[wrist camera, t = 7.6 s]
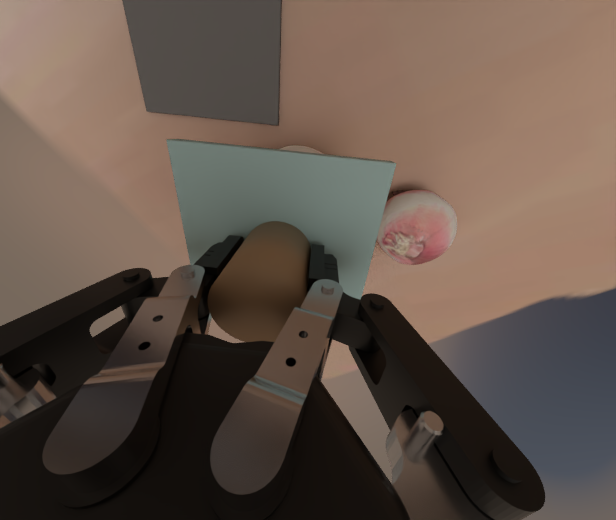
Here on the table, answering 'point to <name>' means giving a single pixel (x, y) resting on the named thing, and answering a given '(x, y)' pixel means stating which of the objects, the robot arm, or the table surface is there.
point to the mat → (208, 57)
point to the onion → (416, 226)
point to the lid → (276, 224)
